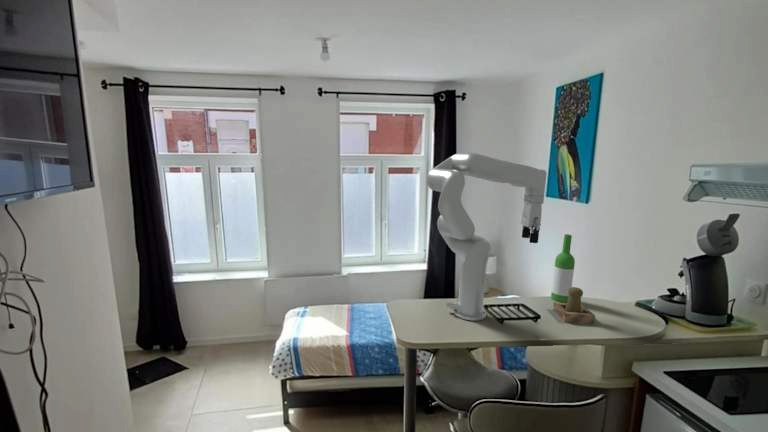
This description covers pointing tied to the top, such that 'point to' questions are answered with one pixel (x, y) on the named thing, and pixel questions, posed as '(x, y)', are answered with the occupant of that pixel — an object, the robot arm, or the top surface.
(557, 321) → the mat
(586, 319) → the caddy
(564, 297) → the wine bottle
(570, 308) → the cork
